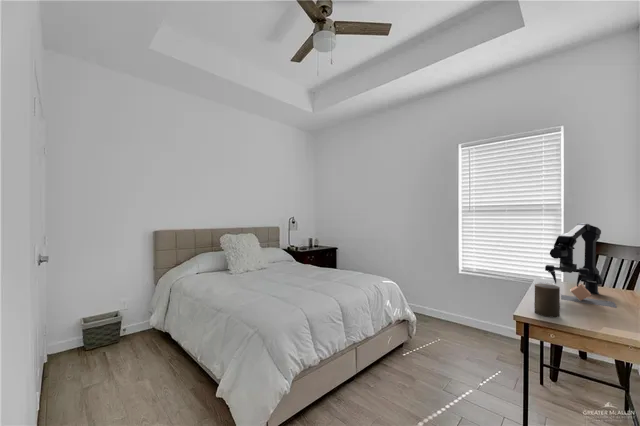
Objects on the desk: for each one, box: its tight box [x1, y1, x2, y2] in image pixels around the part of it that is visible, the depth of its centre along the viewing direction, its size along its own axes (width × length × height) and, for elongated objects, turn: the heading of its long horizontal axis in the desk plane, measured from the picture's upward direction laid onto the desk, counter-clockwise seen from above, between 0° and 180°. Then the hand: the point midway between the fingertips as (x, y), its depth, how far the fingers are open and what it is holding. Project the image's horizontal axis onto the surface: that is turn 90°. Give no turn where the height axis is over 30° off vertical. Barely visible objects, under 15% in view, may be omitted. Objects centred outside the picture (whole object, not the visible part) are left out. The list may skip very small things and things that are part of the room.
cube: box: [569, 283, 592, 301], centre depth 160 cm, size 6×6×6 cm
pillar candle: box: [533, 283, 561, 318], centre depth 140 cm, size 10×10×15 cm
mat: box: [560, 294, 618, 309], centre depth 158 cm, size 12×22×1 cm, turn 50°
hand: (566, 284), depth 164 cm, fingers open, 9 cm apart
